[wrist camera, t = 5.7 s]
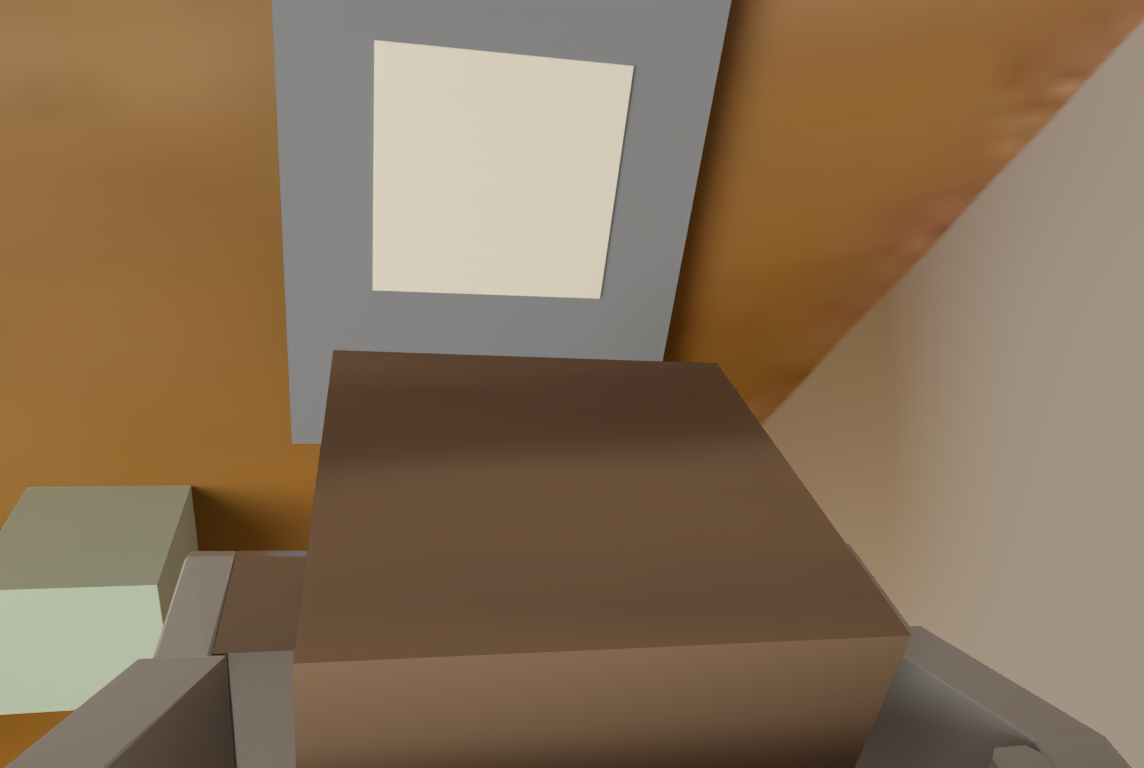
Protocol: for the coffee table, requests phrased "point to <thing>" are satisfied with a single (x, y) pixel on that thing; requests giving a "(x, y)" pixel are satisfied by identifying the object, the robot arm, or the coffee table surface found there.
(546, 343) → the baseplate
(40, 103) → the coffee table surface
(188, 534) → the sage green block
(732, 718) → the walnut block
